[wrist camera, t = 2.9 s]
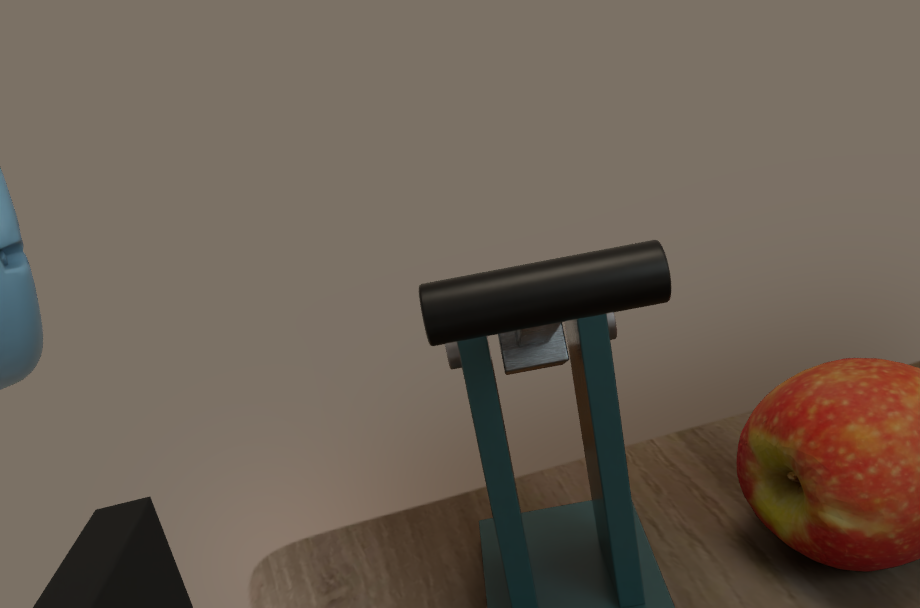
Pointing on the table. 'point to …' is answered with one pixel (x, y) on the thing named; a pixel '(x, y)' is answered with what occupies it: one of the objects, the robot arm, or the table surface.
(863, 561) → the apple
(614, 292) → the switch lever
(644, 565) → the switch bracket
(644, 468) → the table surface
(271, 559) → the table surface
